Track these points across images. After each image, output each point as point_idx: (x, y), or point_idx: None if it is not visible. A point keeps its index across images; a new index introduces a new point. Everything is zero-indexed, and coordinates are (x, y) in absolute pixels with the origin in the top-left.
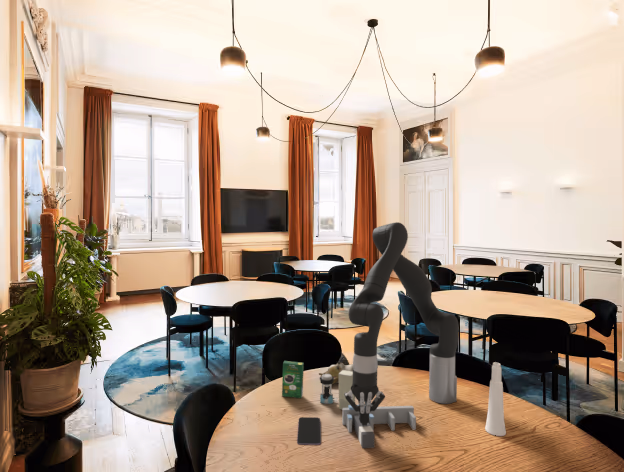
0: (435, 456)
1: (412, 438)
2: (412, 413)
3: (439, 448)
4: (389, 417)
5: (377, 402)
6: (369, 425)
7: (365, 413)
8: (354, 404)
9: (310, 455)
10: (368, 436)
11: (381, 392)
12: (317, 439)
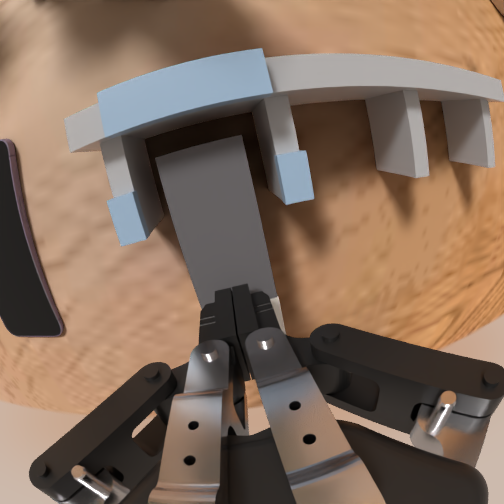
0: (448, 315)
1: (434, 226)
2: (490, 127)
3: (472, 272)
4: (399, 130)
5: (388, 419)
6: (271, 288)
7: (254, 376)
8: (158, 459)
9: (67, 381)
10: None
11: (487, 421)
12: (44, 313)
